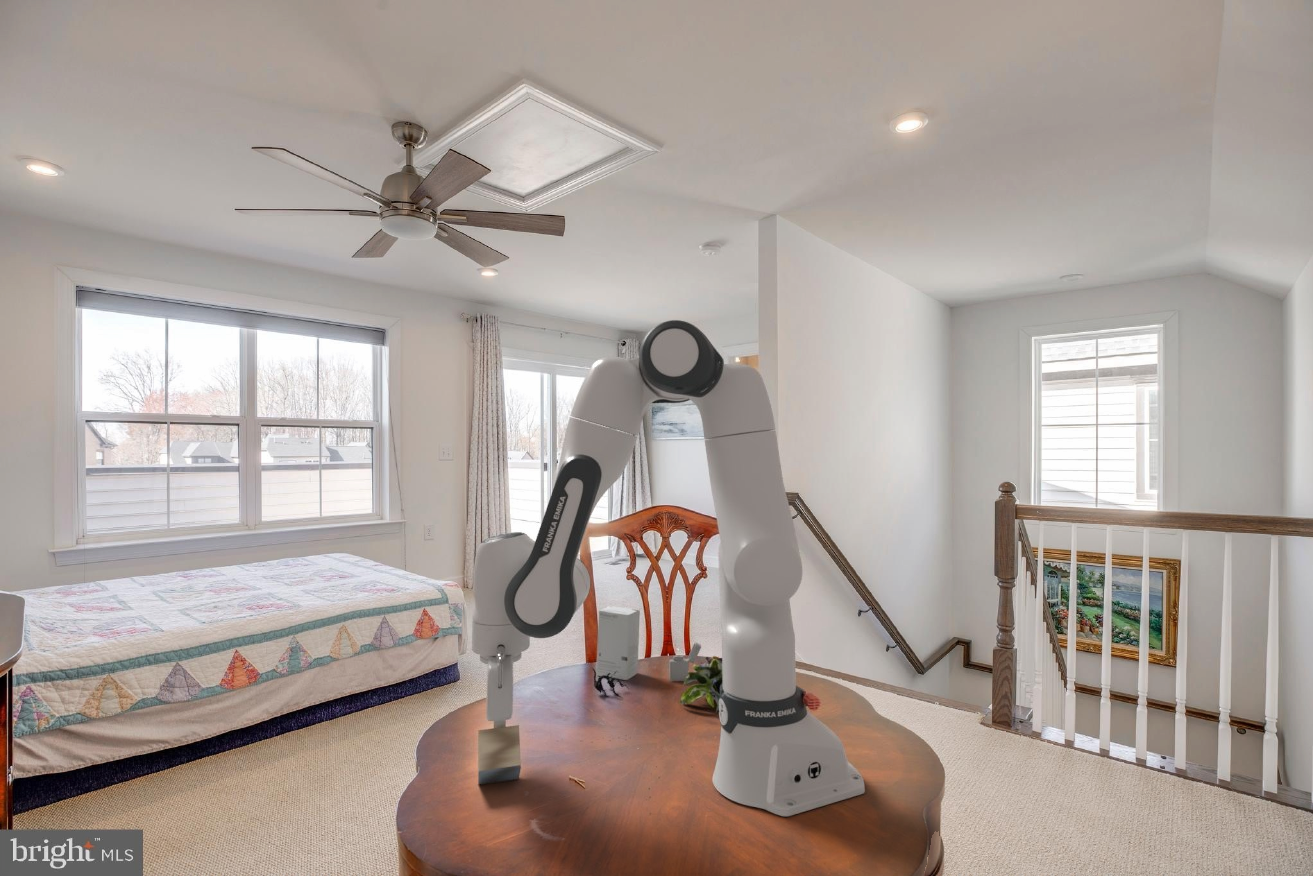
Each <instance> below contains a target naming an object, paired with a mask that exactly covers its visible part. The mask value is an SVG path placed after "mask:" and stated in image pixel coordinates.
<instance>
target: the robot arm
mask: <svg viewBox="0 0 1313 876" xmlns="http://www.w3.org/2000/svg"><path fill="white" fill-rule="evenodd" d="M689 401H691V403H693V404H695V406H696V408H697V409H698V412H699V415H700V418H701V422H702V429H703V430H702V431H703V439H704V444H705V445H704V446H705V452H706V459H707V460H706V461H707V467H708V474H709V482H710V488H711V495H712V500H713V504H714V505H713V506H714V512H715V516H716V517H715V518H716V522H717V529H718V535H719V540H720V542H719V546H718V553H717V554H718V579H719V581H718V583H719V585H718V586H719V603H720V606H719V607H720V622H721V658H722V684H721V685H720V699H719V708H718V716H719V724H720V726H721V728H720V739H719V745H718V746H719V747H718V753H717V758H716V763H715V767H714V771H713V774H712V777H711V778H712V784H713V786H714V788H715V789H716V790H717V791H718V792H719V793H720V794H721V795H722V796H724V797H726V798H727V799H729V800H730V801H732V802H735V803H738V804H740V805H745V806H748V807H755V808H758V809H763V810H766V811H768V812H770V813H772V814H775V815H778V816H781V817H792V816H794V815H796V814H801V813H804V812H807V811H811V810H814V809H817V808H820V807H824V806H827V805H830V804H835V803H837V802H840V801H843V800H848V799H850V798H853V797H856V796H860V795H862V794H863V795H864V794H865V793H866V789H865V780H864V777H862V775H861V773H860V772H859V771H858V769H857V768H855V766H854V765H852V764H851V763H850V762H849V761H848V758H847V753H846V750H845V747H844V744H843V742H842V741H841V739H840V738H839V737H838V735H837V734H836V733H835V732H834V731H833V730H832V729H830V728H829V727H828V726H827V725H826V724H825V723H823V722H822V721H820V720H819V719H818V718H817V717H815V715H813V714H812V713H811V712H809V711H808V710H807V707H808V709H809V710H810V711H814V712H815V711H817V710H818V709H819V708H820V707H821V705H820V704H821V700H820V699H819V697H818V696H816V695H815V694H814V693H811V692H806V691H805V690H804V689H803V688H801V687H799V686H798V685H796V684H797V683H796V682H797V681H796V679H797V676H796V636H795V635H796V634H795V630H794V625H793V623H794V622H793V618H792V617H793V616H792V610H791V601H790V599H791V598H792V597H794V595H795V594H796V593H797V591H798V590H799V588H800V585H801V583H802V578H803V563H802V558H801V555H800V554H801V553H800V547H799V544H798V538H797V534H796V529H795V525H794V520H793V516H792V511H791V508H790V504H789V500H788V495H787V492H786V488H785V484H784V480H783V479H784V478H783V472H782V464H781V460H780V459H781V458H780V451H779V444H778V436H777V431H776V423H775V418H774V413H773V408H772V404H771V402H770V401H771V400H770V398H769V393H768V391H767V387H766V385H765V382H764V379H763V376H762V375H761V373H760V371H758V369H757V368H755V367H753V366H751V365H748V364H744V363H737V362H736V363H725V361H724V358H723V357H722V354H720V353H719V351H718V350H717V349H716V348H715V346H714V345H713V343H711V341H710V340H709V338H708V337H707V336H706V335H705V333H704V332H702V330H700V329H699V328H698V327H697V326H695V325H694V324H692V323H690V322H688V321H685V320H678V319H673V320H667V321H664V322H661V323H658V324H657V325H655V326H654V327H652V328H651V329H650V330H649V331H648V333H647V334H646V335H645V336H644V338H643V340H642V341H641V344H640V347H639V351H638V356H636V357H635V358H628V359H627V358H624V357H619V356H606V357H605V356H604V357H601V358H599V359H597V360H595V361H594V362H593V364H591V366H590V368H589V369H588V371H587V373H586V375H585V377H584V380H583V382H582V384H581V385H580V388H579V390H578V393H577V394H576V398H575V401H574V403H573V406H572V409H571V412H570V416H569V419H568V423H567V425H566V429H565V433H564V438H563V441H562V442H563V443H562V447H561V448H562V449H561V453H560V459H559V462H558V463H559V464H558V467H557V470H556V471H557V472H556V477H555V480H554V485H553V488H552V491H551V495H550V497H549V500H548V502H547V503H548V504H547V506H546V509H545V512H544V516H543V518H542V520H541V521H542V522H541V525H540V527H539V530H538V533H537V535H536V539H535V540H533V539H532V538H531V537H530V536H529V535H528V534H527V533H525V532H521V531H520V532H519V531H516V532H515V531H514V532H506V533H502V534H498V535H493V536H490V537H488V538H486V539H484V540H482V541H481V542H480V543H479V544H478V547H477V548H476V553H475V558H474V564H473V565H474V566H473V578H472V579H473V580H472V594H473V597H474V610H473V614H472V618H471V621H472V622H471V623H472V624H471V650H472V652H473V653H474V654H476V655H479V660H480V662H481V663H482V664H485V665H487V669H486V701H485V702H486V703H485V704H486V705H485V706H486V707H485V708H486V709H485V715H486V719H487V721H488V722H493V728H500V727H507V725H506V723H507V721H508V720H511V719H512V717H513V713H514V712H513V711H514V663H516V662H518V661H520V660H521V658H522V653H523V652H525V651H527V650H528V649H529V648H530V645H531V644H530V643H531V642H530V641H531V638H534V639H546V638H547V639H548V638H551V637H554V636H556V635H558V634H560V633H561V632H563V630H565V629H566V627H568V625H569V624H570V622H571V621H572V618H573V616H575V614H576V612H578V610H579V609H580V608H581V606H582V605H583V604H584V602H585V601H586V599H587V598H588V597H589V594H590V590H591V584H592V580H591V574H590V571H589V569H588V567H587V566H586V565H585V563H584V562H583V561H582V560H581V559H580V558H579V557H578V556H579V553H580V550H581V546H582V543H583V541H584V538H585V535H586V533H587V531H586V530H587V529H588V525H589V522H590V519H591V516H592V514H593V512H594V510H595V507H596V506H597V504H598V503H599V502H600V499H602V497H603V496H604V495H605V494H606V492H607V491H608V490H609V489H611V487H612V486H613V485H614V484H615V483H616V482H617V481H618V479H619V478H620V477H621V476H622V475H623V472H624V471H625V469H626V467H627V465H628V463H629V461H630V459H631V457H632V455H633V453H634V449H635V446H636V442H637V440H638V436H639V433H640V429H641V426H642V421H643V419H644V415H645V413H646V411H647V409H648V407H650V406H651V404H680V403H681V404H682V403H685V402H689Z"/></svg>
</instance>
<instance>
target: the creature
mask: <svg viewBox="0 0 1313 876" xmlns="http://www.w3.org/2000/svg"><path fill="white" fill-rule="evenodd" d="M592 671H593V673H594V674H593V686H594V689H596V690H597V691H598V692H599V693H600V694H601V693H602V692H603V693H604V696H605V698H607V697H611V695H607V692H606V691H607V689H605V688H604V686H603V683H602V680H603V679H606V680H607V681H606V684H608V685H609V687H610V689H611V690H610V691H611V692H612V693H613V694H614V695H615V696H617V697H619V698H621V699H623V697H622V696H620V695H619V694H617V692H616V691H615V687H616V684H617V683H619V685H620V687H621V688H623V687H626V688H627V689H628V690H629V687H628V686H627V684H626V683H622V681H621V679H617V678H612V679H610V678H611V677H612V676H611V677H609V675H610V674H611V673H609V674H607V676H606V675H603V676H598V679H597V674H596V669H595V668H592ZM615 673H616V672H615ZM614 676H615V675H614ZM596 679H597V680H596Z"/></svg>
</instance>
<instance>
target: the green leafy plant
mask: <svg viewBox="0 0 1313 876" xmlns="http://www.w3.org/2000/svg"><path fill="white" fill-rule="evenodd" d="M705 659H706V662H707V663H705V662H703V663H702V662H700V664H698V665H697V664H693V666H692V668H693V671H689V670H688V677H686V678H687V679H686V680H685V681H683V686H684V687H685V686H687V684H690V683H693V682H695V681H697V682H696V683H693V684H692V685H690V686H689V687H688V688H686V690H685V691H684V692H683V693H682V695H681V697H680V700H679V703H680V704H682V705H683V706H686V704H687V705H689V704H691V703H693V702H695V701H698V700H699V699H701V698H702V697H704V696H705V698H706V701H707V703H708V705H710V706H711V707H712V708H715V703H716V710H715V711H714V714H715V715H716V714H717V712H718V711H719V699H720V685H721V684H722V657H719V656H717V655H716V656H715V655H713V656H712V657H709V656H706V657H705Z"/></svg>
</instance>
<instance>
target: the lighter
mask: <svg viewBox="0 0 1313 876" xmlns="http://www.w3.org/2000/svg"><path fill="white" fill-rule="evenodd" d="M701 648H702V645H701V644H700V643H698V642H696V641H695V642H694V644H693V645H692V647H691V650H690V652H689V654H688V656H687V658H684V655H683V654H681V655H680V654H678V655H677V654H676V655H675V654H674V656H672V659H669V666H668V667H669V668H668V670H669V671H668V673H669V675H668V677H669V678H668V679H669V682H685V680H686V679H687V678H686V677H689V674H688V671H689V663H691V664H695V662H696V660H697V657H698V655H699V653H700V651H701Z"/></svg>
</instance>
